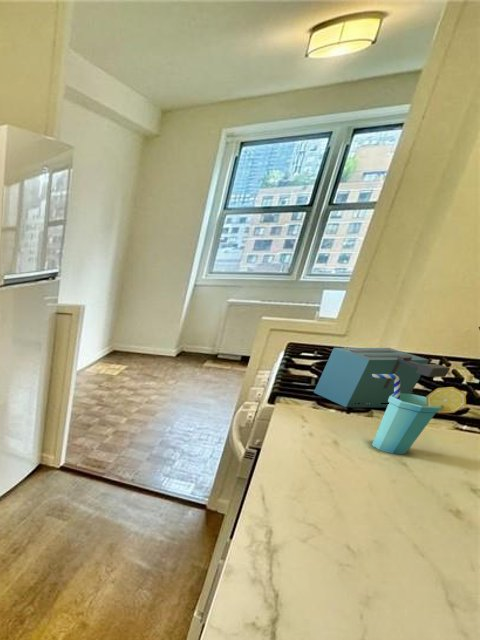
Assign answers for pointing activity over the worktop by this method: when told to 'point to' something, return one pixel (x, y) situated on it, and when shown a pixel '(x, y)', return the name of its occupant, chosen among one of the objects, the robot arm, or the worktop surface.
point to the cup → (412, 415)
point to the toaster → (366, 376)
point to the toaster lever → (427, 368)
